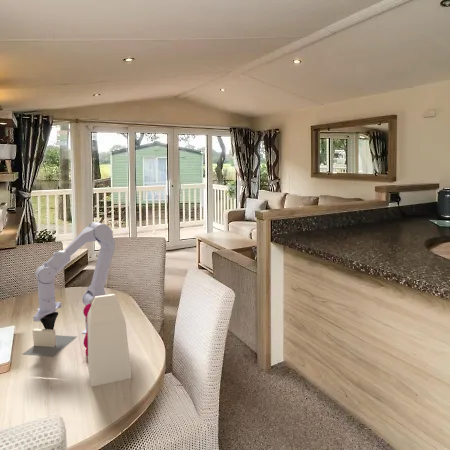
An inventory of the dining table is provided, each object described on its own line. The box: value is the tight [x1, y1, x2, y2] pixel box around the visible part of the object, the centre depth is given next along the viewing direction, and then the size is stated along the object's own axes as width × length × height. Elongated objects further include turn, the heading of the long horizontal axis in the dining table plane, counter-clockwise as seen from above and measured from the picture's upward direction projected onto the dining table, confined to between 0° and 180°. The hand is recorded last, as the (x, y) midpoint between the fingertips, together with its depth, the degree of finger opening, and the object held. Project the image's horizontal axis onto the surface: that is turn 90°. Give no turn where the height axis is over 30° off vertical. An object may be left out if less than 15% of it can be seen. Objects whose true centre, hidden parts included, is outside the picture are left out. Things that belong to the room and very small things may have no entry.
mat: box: [22, 334, 77, 357], centre depth 143 cm, size 12×16×1 cm
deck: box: [32, 328, 56, 347], centre depth 142 cm, size 8×2×6 cm, turn 81°
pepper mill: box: [82, 299, 93, 357], centre depth 136 cm, size 7×7×20 cm
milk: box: [87, 293, 132, 388], centre depth 122 cm, size 12×12×26 cm
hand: (49, 332), depth 146 cm, fingers closed
